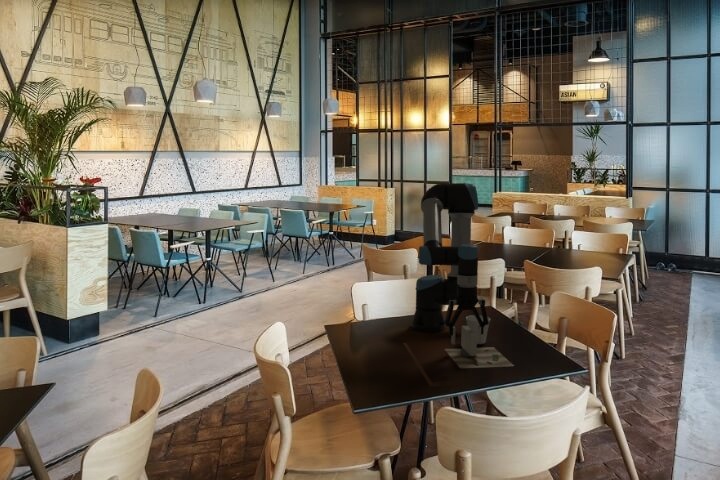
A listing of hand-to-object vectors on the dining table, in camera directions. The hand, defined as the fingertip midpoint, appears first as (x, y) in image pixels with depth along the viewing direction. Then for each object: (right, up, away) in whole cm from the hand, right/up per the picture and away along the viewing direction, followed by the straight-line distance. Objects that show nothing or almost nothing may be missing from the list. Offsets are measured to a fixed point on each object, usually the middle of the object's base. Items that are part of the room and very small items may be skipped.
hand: (465, 343), depth 226 cm
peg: (+1, -5, -5) cm, 6 cm away
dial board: (+4, -6, -4) cm, 8 cm away
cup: (+7, -3, +15) cm, 17 cm away
